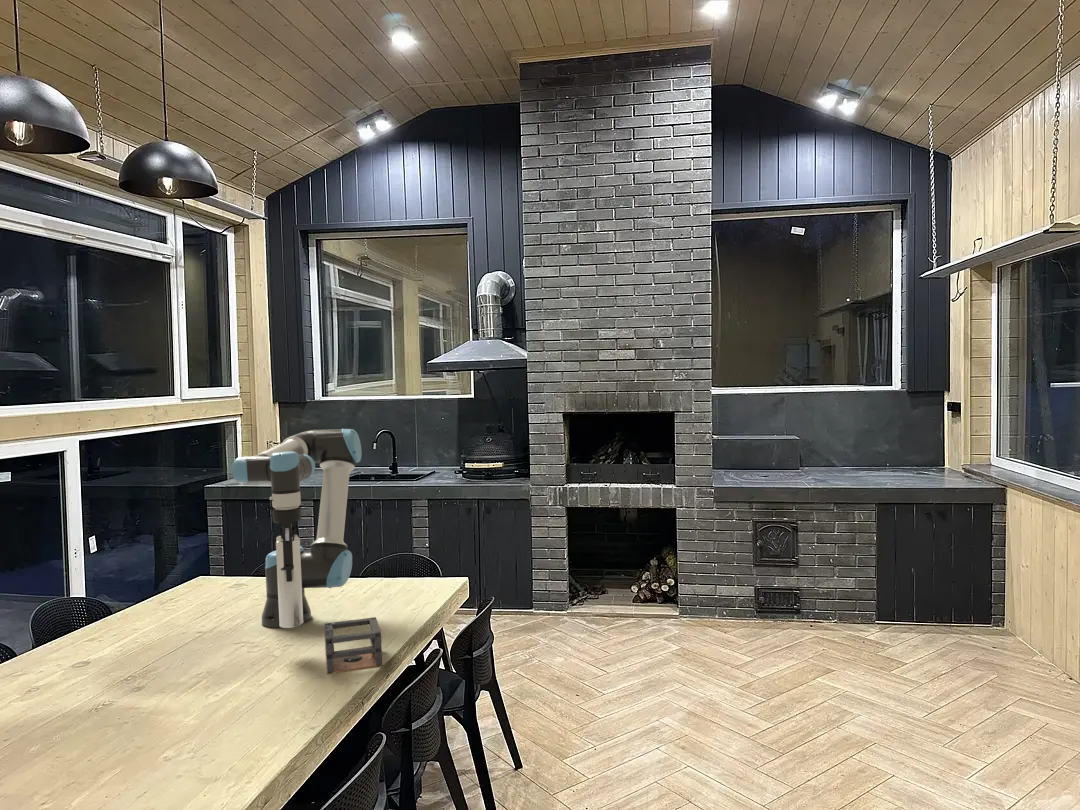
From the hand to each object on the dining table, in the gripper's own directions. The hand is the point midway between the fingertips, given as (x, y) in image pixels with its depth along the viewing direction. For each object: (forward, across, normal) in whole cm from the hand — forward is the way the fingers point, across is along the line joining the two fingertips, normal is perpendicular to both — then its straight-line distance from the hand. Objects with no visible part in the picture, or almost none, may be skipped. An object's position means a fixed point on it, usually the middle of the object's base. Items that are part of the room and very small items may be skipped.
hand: (290, 589), depth 199 cm
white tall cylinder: (+10, 0, 0) cm, 10 cm away
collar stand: (+18, +12, +16) cm, 27 cm away
